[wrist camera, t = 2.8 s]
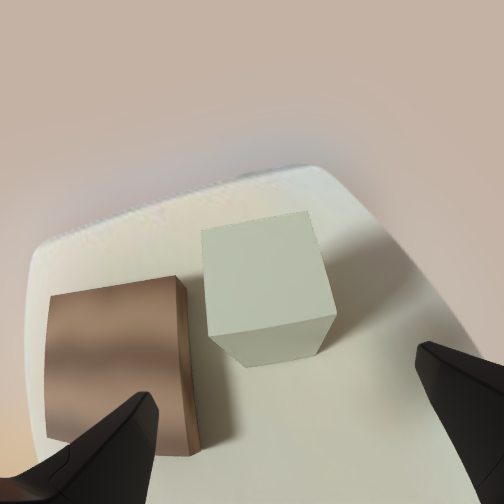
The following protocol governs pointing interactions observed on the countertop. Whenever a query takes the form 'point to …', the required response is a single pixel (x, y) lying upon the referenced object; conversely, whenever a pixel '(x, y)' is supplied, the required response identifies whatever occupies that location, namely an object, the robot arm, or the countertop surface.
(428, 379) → the robot arm
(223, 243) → the sage block
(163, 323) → the walnut stand
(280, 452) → the countertop surface
